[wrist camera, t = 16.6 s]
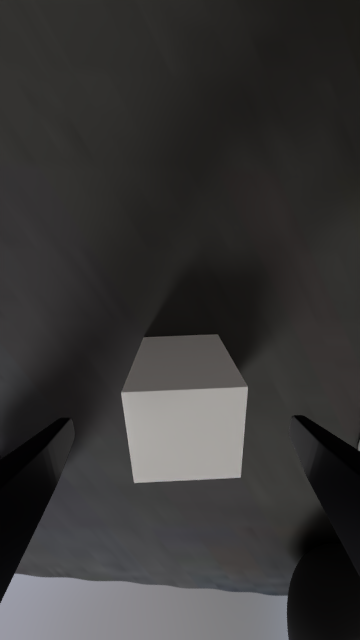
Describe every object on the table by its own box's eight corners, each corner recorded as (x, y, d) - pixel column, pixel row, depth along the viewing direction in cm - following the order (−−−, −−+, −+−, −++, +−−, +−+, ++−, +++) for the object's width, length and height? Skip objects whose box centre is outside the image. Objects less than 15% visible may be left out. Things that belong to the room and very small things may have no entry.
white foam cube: (149, 399, 22) (134, 482, 14) (143, 337, 20) (121, 392, 12) (216, 396, 23) (240, 477, 14) (217, 334, 20) (247, 387, 12)
